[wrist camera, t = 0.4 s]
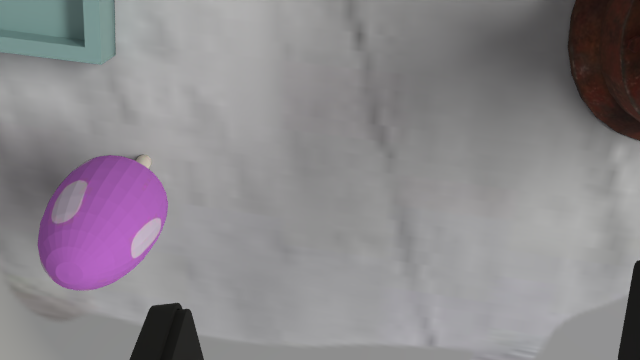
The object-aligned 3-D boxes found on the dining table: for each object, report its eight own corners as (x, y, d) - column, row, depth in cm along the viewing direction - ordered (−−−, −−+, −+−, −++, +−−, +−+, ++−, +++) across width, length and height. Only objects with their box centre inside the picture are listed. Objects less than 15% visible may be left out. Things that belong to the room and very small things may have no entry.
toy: (85, 173, 42) (-18, 290, 28) (123, 103, 39) (30, 194, 26) (163, 214, 43) (101, 343, 30) (203, 149, 41) (156, 258, 28)
